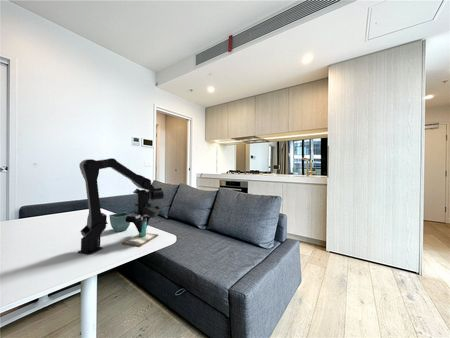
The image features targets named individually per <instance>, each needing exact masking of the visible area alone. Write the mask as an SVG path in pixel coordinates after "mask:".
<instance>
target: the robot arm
mask: <svg viewBox="0 0 450 338" xmlns="http://www.w3.org/2000/svg"><path fill="white" fill-rule="evenodd" d="M108 168H111V169H112V170H114V171H116V172H117V173H119V174H120V175H122V176H124V177H126V179H128V180H130V182H131V183H133V185H135V186H136V187H137V188H136V189H135V190H133V192H132V194H135V195H137V196H136V198H137V199H136V203H135V206H136V211H135V212H134V214H133V213H132V214H131V213H130V214H131V215H128V216H127V217H126V219H125V222H130V223H133V224H134V226H135V229H136V230H137V232H138V234H139V233H141V230H142V223H143V222H144V220H143V218H147V223H146V229H147V227H148V225H149V222H150V221H151V219H152V218H157V217H158V215H159V213H161V207H160V206H159V205H156V206H152V203H151V202H150V201H160V200H161V201H162V200H163V199H164V196H165V195H164V191H163V188H162V187H154V185H153V183H152V180H151V179H150V178H149V177H145V176H143V175H141V174H138V173H136V172H135V171H133V170H132V169H131V168H129V167H127V166H125V165H124V164H122V163H121V162H119V161H118V160H117V159H116V158H112V157H111V158H107V159H100V160H95V159H90V158H89V159H83V160H81V162H80V163H79V169H80V173H81V175H82V177H83V179H84V183H85V190H86V197H87V198H86V199H87V207H88V215H87V221H86V225H85V226H84V227H83V228H82V229H81V230H80V231H79V232H80V233H81V235H82V238H80V249H79V250H78V251H77V253H78V254H85V255H92V254H94V253H96V252H98V251H100V250H102V249H103V246H101V236H102V234H103V232H104V231H105V230H106V228H107V225H108V224H109V222H107V217H108V216H107V214H105V213H103V212H102V210H101V203H100V193H99V186H98V177H99V174H100V170H103V169H108Z"/></svg>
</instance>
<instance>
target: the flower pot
mask: <svg viewBox="0 0 450 338" xmlns="http://www.w3.org/2000/svg"><path fill="white" fill-rule="evenodd" d="M128 215H131V213H128V212H125V211H124V212H118V213H112V214H109V223H110V227H111V228H112V229H113V230H114V232H115V231H116V232H118V233H119V232H123V231H127V229H129V227H130V224H131V222H125V219H126V217H127V216H128Z"/></svg>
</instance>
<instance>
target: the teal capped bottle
mask: <svg viewBox="0 0 450 338" xmlns="http://www.w3.org/2000/svg"><path fill="white" fill-rule="evenodd" d="M143 220H144V222H143V223H142V230H141V233H139V232H138V234H139V237H144V236H146V233H147V228H146V223H147V218H143Z"/></svg>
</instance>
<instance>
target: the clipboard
mask: <svg viewBox="0 0 450 338" xmlns="http://www.w3.org/2000/svg"><path fill="white" fill-rule="evenodd" d="M157 237H159V234H156V233H148V232H146V236H144V237H139V233H138V234H136V235H134V236H133V237H131V238H129V239H127V240H125V241H122V242H121V245H125V246H133V247H142V246H144V245H145V244H147V243H149V242H150V241H152V240H153V239H155V238H157Z"/></svg>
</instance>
